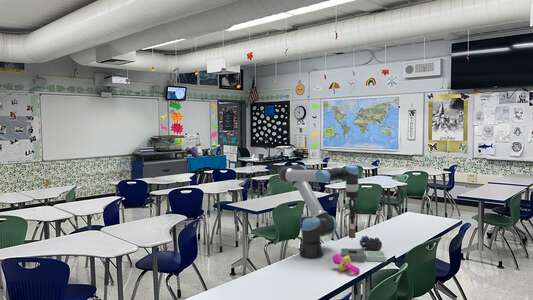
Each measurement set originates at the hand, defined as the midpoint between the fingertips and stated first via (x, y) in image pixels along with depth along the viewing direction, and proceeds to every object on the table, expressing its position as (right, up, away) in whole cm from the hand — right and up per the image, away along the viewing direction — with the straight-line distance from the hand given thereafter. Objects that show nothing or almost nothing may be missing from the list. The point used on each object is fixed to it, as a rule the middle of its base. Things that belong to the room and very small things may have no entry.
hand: (352, 227), depth 260 cm
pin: (0, -6, 0) cm, 6 cm away
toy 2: (+16, -18, +16) cm, 29 cm away
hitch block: (+1, -20, +1) cm, 20 cm away
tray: (+14, -19, -1) cm, 24 cm away
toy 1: (-8, -21, -21) cm, 31 cm away
